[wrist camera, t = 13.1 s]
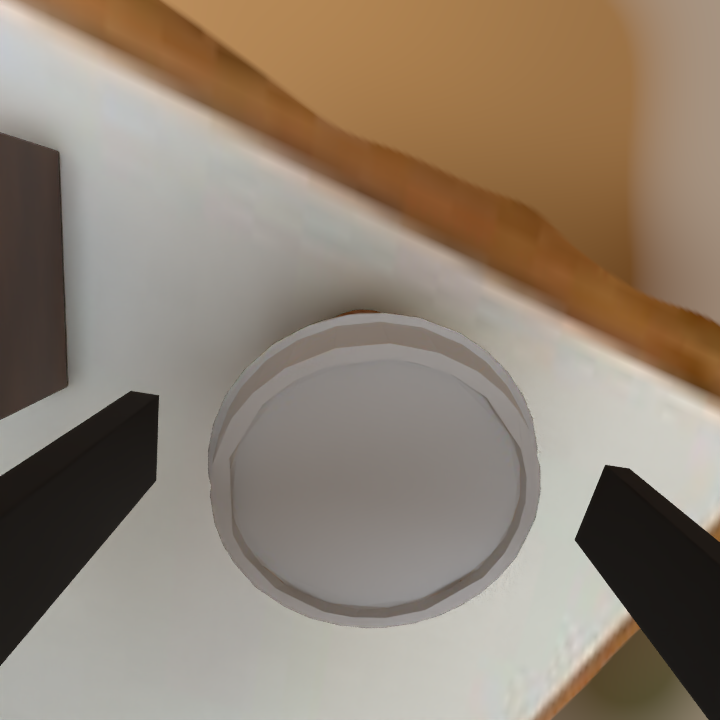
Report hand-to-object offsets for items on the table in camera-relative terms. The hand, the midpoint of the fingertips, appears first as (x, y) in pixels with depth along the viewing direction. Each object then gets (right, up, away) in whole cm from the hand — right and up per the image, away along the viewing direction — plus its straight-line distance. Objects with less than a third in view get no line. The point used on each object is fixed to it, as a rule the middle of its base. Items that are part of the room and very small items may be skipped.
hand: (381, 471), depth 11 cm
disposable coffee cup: (0, +3, +10) cm, 11 cm away
